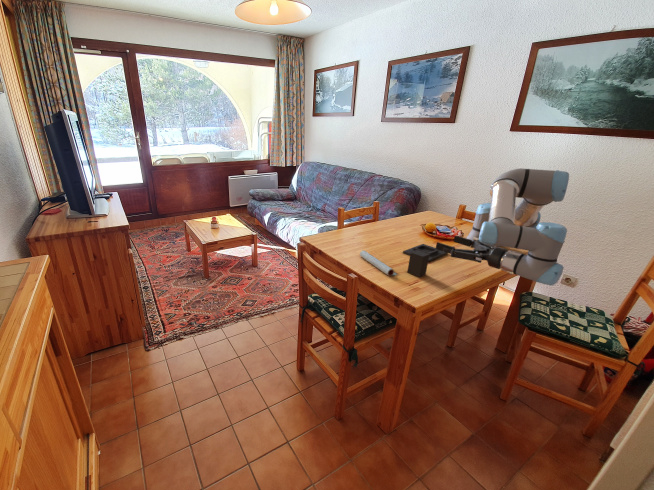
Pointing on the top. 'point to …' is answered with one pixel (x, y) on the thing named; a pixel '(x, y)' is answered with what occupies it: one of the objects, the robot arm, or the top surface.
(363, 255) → the aluminum foil
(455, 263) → the top surface
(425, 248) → the base pad
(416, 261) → the black rectangular block
